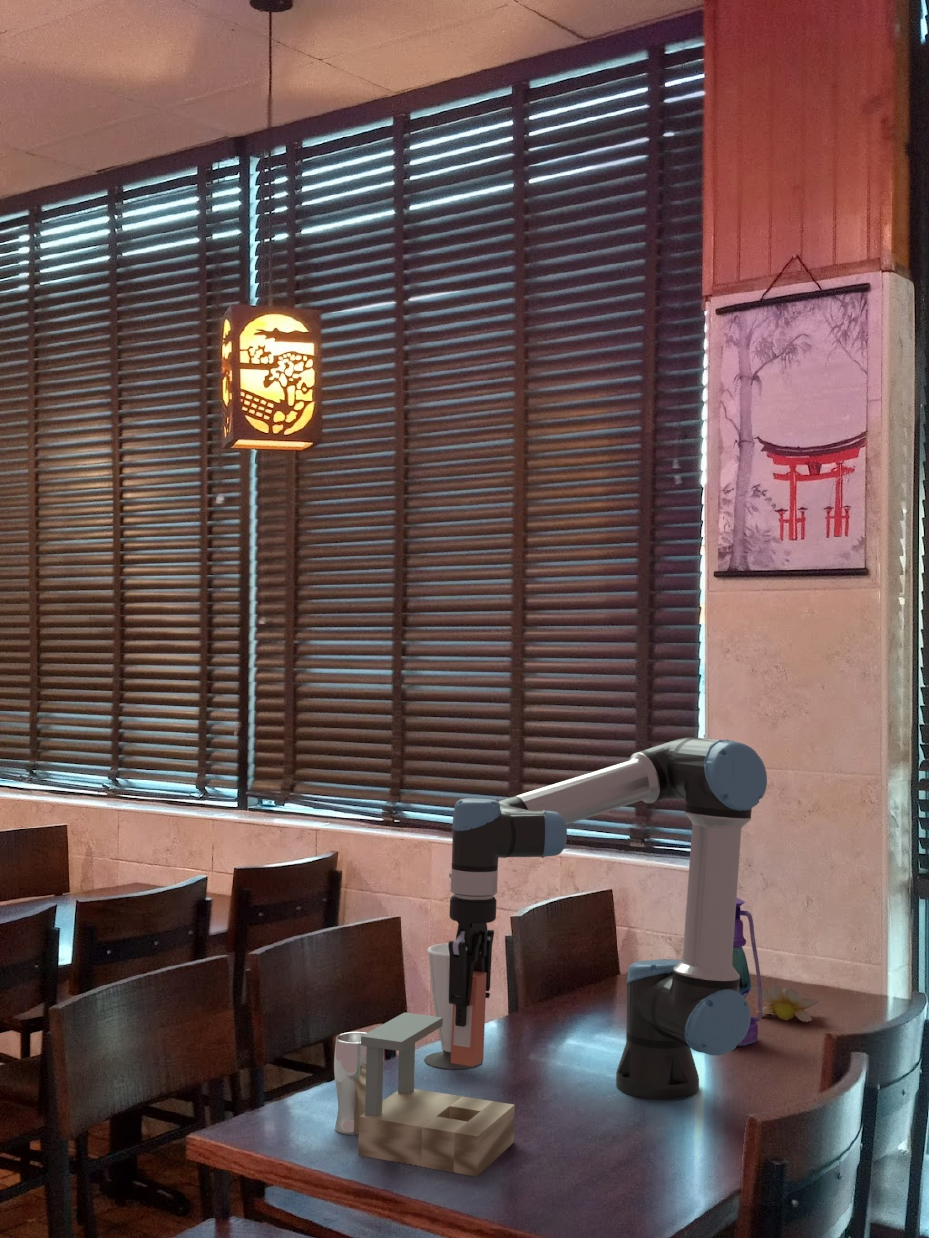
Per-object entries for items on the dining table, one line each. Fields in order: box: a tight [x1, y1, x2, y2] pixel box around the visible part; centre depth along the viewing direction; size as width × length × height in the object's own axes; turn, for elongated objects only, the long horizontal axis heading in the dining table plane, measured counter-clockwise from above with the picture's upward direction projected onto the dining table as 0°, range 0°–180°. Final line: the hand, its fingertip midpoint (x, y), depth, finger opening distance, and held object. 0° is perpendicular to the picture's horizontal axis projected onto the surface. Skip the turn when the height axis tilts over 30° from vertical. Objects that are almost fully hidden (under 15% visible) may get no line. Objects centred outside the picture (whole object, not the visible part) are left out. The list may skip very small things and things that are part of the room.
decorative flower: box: [750, 985, 822, 1023], centre depth 293 cm, size 15×11×10 cm
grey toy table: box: [361, 1012, 443, 1117], centre depth 212 cm, size 7×16×12 cm, turn 157°
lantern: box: [732, 897, 763, 1047], centre depth 274 cm, size 13×12×30 cm
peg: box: [451, 971, 487, 1068], centre depth 211 cm, size 4×4×14 cm
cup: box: [423, 942, 483, 1071], centre depth 256 cm, size 12×12×22 cm
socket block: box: [357, 1088, 516, 1178], centre depth 209 cm, size 20×16×6 cm
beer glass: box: [333, 1031, 367, 1136], centre depth 217 cm, size 7×7×15 cm
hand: (468, 1041), depth 211 cm, fingers closed on peg, 4 cm apart
